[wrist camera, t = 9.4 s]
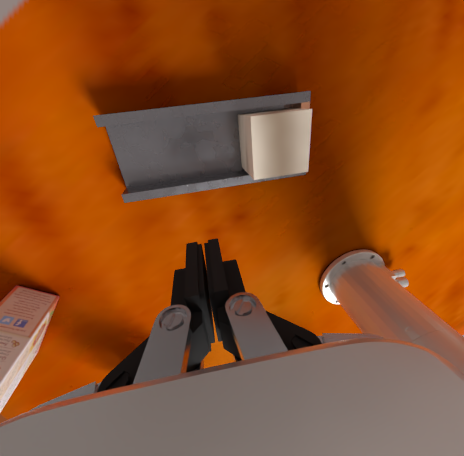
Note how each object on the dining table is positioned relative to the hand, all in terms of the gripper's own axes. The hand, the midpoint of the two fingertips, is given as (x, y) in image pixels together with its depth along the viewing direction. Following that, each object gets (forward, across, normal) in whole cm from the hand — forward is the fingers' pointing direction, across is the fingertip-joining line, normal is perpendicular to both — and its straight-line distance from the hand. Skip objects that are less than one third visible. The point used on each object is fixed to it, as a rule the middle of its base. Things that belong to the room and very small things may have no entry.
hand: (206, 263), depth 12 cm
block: (+20, -9, -4) cm, 22 cm away
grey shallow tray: (+19, -2, -4) cm, 20 cm away
